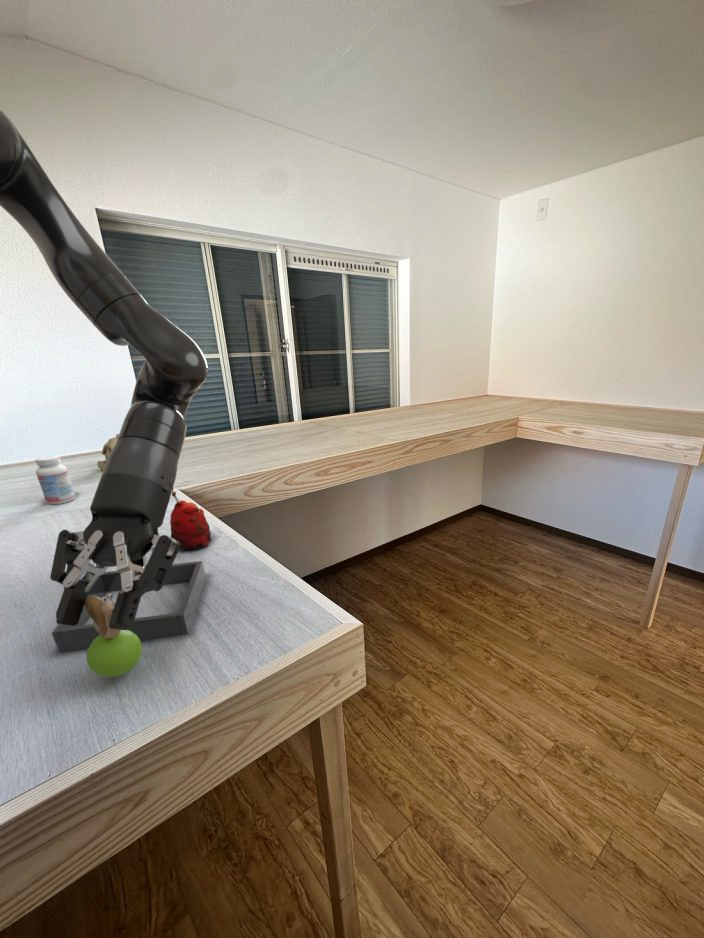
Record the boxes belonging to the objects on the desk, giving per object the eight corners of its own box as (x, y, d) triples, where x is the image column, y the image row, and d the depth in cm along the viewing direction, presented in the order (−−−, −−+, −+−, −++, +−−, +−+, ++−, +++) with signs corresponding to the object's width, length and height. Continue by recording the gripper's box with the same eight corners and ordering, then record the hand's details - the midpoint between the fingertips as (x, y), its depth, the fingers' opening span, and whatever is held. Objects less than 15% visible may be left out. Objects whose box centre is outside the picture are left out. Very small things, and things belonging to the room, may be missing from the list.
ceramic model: (132, 458, 139) (124, 428, 135) (158, 460, 136) (150, 430, 132) (93, 470, 127) (83, 438, 123) (120, 473, 124) (111, 440, 120)
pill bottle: (40, 503, 103) (24, 460, 98) (65, 495, 108) (50, 453, 103) (58, 506, 101) (42, 462, 96) (82, 497, 106) (68, 455, 102)
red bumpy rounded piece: (218, 544, 82) (204, 472, 76) (182, 557, 78) (164, 481, 71) (202, 532, 87) (188, 464, 81) (167, 544, 83) (150, 472, 76)
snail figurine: (115, 699, 46) (78, 610, 41) (86, 676, 49) (49, 591, 44) (161, 667, 50) (133, 583, 45) (131, 648, 53) (103, 568, 48)
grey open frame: (61, 657, 54) (51, 632, 52) (104, 593, 67) (97, 572, 65) (189, 638, 57) (183, 614, 55) (206, 581, 70) (202, 560, 68)
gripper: (59, 468, 48) (-1, 618, 42) (175, 471, 46) (130, 628, 40) (106, 494, 55) (60, 625, 49) (208, 498, 53) (174, 635, 47)
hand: (92, 626), depth 44 cm, fingers closed on snail figurine, 5 cm apart
